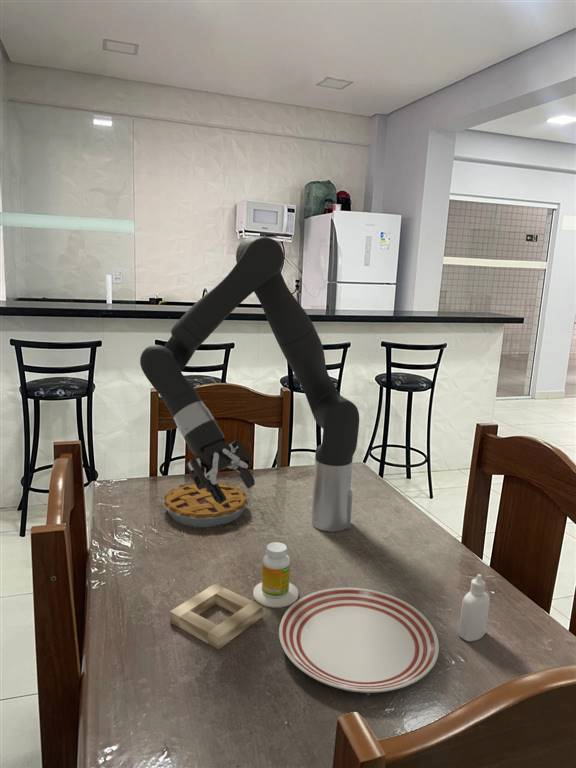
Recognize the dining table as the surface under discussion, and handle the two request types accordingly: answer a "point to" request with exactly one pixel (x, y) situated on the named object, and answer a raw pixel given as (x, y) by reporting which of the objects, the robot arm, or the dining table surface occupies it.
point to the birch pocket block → (207, 630)
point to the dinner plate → (359, 640)
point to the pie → (204, 505)
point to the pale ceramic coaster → (275, 602)
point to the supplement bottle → (276, 571)
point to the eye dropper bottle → (474, 611)
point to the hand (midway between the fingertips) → (237, 494)
